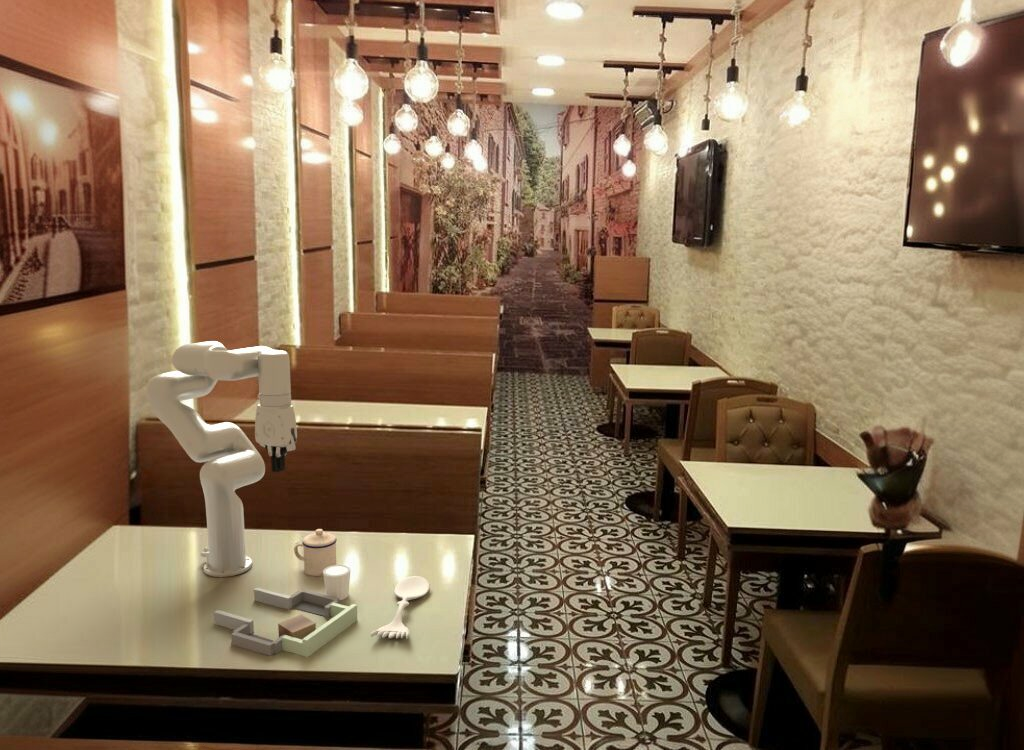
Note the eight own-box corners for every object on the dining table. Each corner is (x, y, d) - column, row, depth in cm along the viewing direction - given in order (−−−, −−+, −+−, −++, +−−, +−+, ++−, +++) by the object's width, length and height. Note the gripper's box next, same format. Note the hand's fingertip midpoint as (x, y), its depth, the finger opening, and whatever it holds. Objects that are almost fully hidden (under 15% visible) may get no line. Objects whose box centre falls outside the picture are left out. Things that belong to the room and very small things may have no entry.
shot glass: (344, 603, 197) (343, 577, 195) (319, 600, 198) (318, 574, 197) (355, 591, 203) (354, 565, 202) (330, 588, 205) (329, 563, 203)
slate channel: (208, 627, 184) (207, 611, 183) (263, 595, 200) (262, 580, 200) (307, 657, 172) (306, 640, 171) (357, 620, 188) (356, 604, 188)
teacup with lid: (342, 564, 219) (341, 525, 217) (329, 578, 210) (328, 537, 208) (302, 560, 221) (301, 521, 219) (287, 574, 212) (286, 533, 210)
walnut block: (278, 639, 179) (278, 623, 179) (301, 630, 184) (301, 614, 183) (293, 649, 175) (292, 632, 175) (316, 639, 180) (315, 623, 179)
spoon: (369, 646, 177) (369, 632, 176) (399, 583, 208) (399, 571, 208) (408, 648, 176) (408, 634, 176) (432, 585, 208) (432, 573, 207)
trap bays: (229, 643, 177) (229, 633, 177) (301, 597, 199) (301, 588, 199) (272, 656, 172) (271, 646, 171) (341, 608, 194) (341, 598, 194)
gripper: (241, 399, 195) (245, 470, 198) (288, 406, 188) (291, 479, 192) (262, 394, 201) (265, 462, 205) (309, 400, 195) (311, 470, 199)
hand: (278, 470), depth 198 cm, fingers closed
